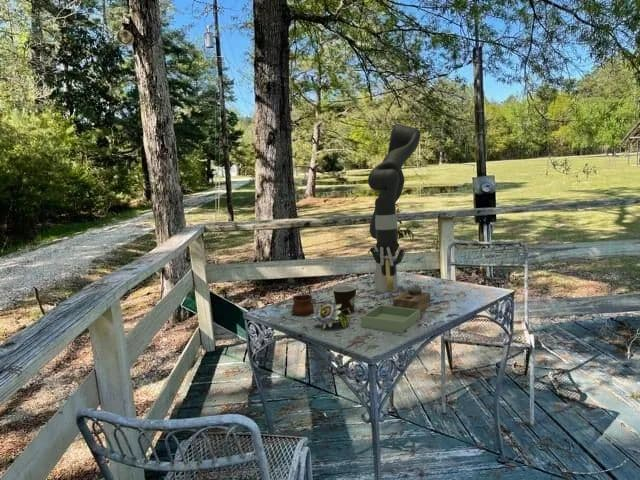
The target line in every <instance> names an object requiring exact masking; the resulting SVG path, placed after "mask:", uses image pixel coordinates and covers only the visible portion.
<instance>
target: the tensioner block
mask: <svg viewBox="0 0 640 480" xmlns="http://www.w3.org/2000/svg"><path fill="white" fill-rule="evenodd" d="M431 303H432V301H431V292H424V291H423V292H422V288H421V287H420V286H418V285H416V286H409V287H408V289H407V290H405V291H403V292H402V293H400V294H399V295H397V296H395V297H394V298H392V304H393V305H392V306H394V307H402V308H410V309H418V310H420V314H422V313H423V312H424V311H426V309H428V308H429V307H431V306H432V304H431Z"/></svg>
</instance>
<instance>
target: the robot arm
mask: <svg viewBox="0 0 640 480" xmlns="http://www.w3.org/2000/svg"><path fill="white" fill-rule="evenodd" d="M420 140H421V131H420V129H418V128H416V127H412V126H409V125H405V124H402V123H401V124H400V123H397V124H396V123H395V125H394V126H393V127H392V130H391V133H390V137H389V144H388V151H387V154H386V155H385V157H384V158H383V159H382V162H381V163H379V164H378V165H376V166H375V167H374V168H373V169H372V170H371V171H370V173H369V175H368V177H367V184H368V186H369V188H370V189H371V190H373V191H378V197H377V198H375V200H374V210H373V213H372V215H371V220H370V223H369V234H370V237H371V238H372V239H375V240H376V243H375V245H374V246H372V247H370V248H369V251H370V253H371V255H372V257H373V259H374V261H375V270H373V273H374V291H375V292H378V293H382V294H385V293H396V292H398V291H399V289H398V288H399V283H398V269H397V267H398V266H397V265H398V264H401V263H402V260H403V259H404V256H405V253H407V249H406V248H404V247H401V246H400V244H399V235H398V234H399V233H398V218H397V212H396V211H397V210H396V208H397V207H396V203H397V202H398V200H399V199H400V198H401V195H402V192H403V189H404V185H405V175H404V172H403V169H402V168H403V166H404V164H405V162H407V160H408V159H409V158H410V157H411V156H412V154H414V152H415V151H416V150H417V148H418V146H419V144H420ZM397 253H398V254H397ZM385 258H389V260H390V265H391V266H390V275H391V276H393V289H392V290H387V289H386V273H385Z"/></svg>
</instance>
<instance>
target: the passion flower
mask: <svg viewBox="0 0 640 480" xmlns="http://www.w3.org/2000/svg"><path fill="white" fill-rule="evenodd" d="M334 303H335V298H333V297H332V298H331V299H330V300H329V301H324V302H322V303H321V304H320V306H318V310H317V311H316V312H315V314H314V315H313V316H312V318H313V319H314V320H315V319H316V320H318V321H319V323H318V325H319V326H321V327H322V329H323V330H325V329H326V328H327V326H328V327H329V328H332V327H333V325H334V324H333V323H334V320H335V321H336V323H339V322H340V324H341V327H342V328H343V329H346V328H347V324H348V325H350V318H349V317H348V315H345V314H343V313H342V312H341V311H339V310H338V309H339V308H340V307H341V304H337V305H336V304H334ZM346 309H347V310H348V311H349V309H348V308H346ZM344 310H345V309H344ZM342 311H343V310H342ZM350 314H351V312H350V311H349V315H350ZM338 320H339V322H338Z"/></svg>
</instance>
